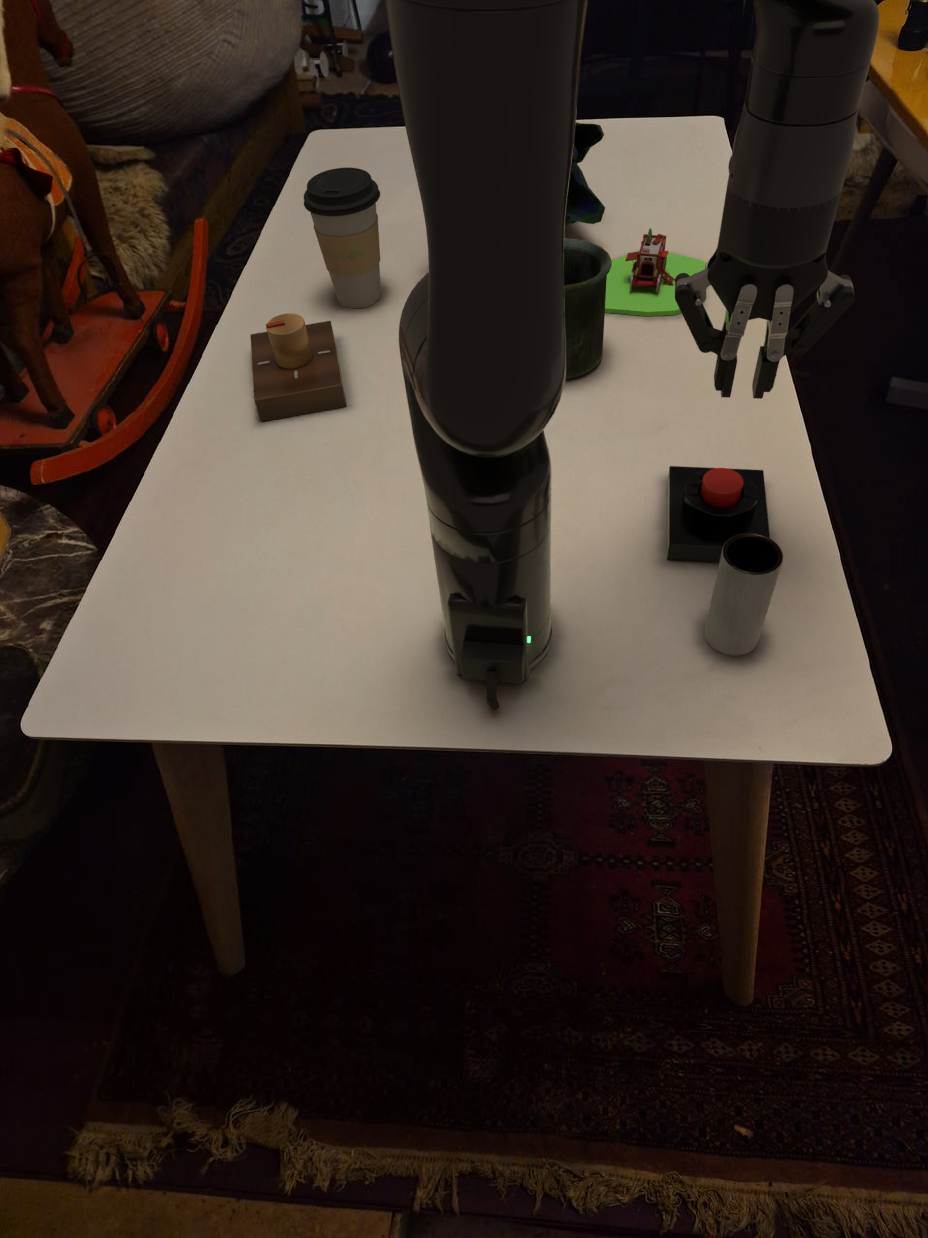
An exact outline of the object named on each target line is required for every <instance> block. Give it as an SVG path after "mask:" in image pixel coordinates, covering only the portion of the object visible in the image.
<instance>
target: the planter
mask: <svg viewBox="0 0 928 1238" xmlns="http://www.w3.org/2000/svg"><path fill="white" fill-rule="evenodd" d="M783 562H784V554H783V550H782V548H781V547H780V546H779V544H778V543H777V542H776V541H774V540H773V539H772V538H771V537H770V538H768V537H766V536H763V535H760V534H755V533H743V534H738V535H735V536H733V537H731V538H730V539H728V540H727V541H726V543H725V544H724V546H723V549H722V553H721V558H720V562H719V563H718V567H717V572H716V576H715V581H714V585H713V590H712V594H711V599H710V603H709V607H708V611H707V616H706V622H705V626H704V638H705V641H706V642H707V644H708V645H709V646H710V647H711V648H712V649H713V650H715V652H717V653H720V654H723V655H726V656H732V657H737V656H744V655H747V654H749V653H751V652H752V651H753V650H754V649H756V647H757V646H758V642H759V641H760V637H761V634H762V630H763V627H764V624H765V621H766V617H767V614H768V611H769V608H770V605H771V601H772V597H773V594H774V591H775V587H776V584H777V582H778V578H779V575H780V571H781V568H782V565H783Z"/></svg>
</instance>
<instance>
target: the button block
mask: <svg viewBox="0 0 928 1238" xmlns="http://www.w3.org/2000/svg"><path fill="white" fill-rule="evenodd" d="M668 468H669V469H668V475H667V476H668V477H667V480H666V481H667V482H666V495H667V496H666V561H671V562H686V563H688V562H689V563H703V564H704V563H705V564H719V562H720V558H721V553H722V549H723V546H724V544H725V543H726V541H727V540H728V539H730V538H731V537H733V536H735V535H738V534H743V533H755V534H760V535H763V536H766V537H768V538H770V539H771V536H770V535H771V534H770V525H769V524H770V523H769V516H768V515H769V513H768V504H767V503H768V502H767V494H766V484H765V473H764V470H763V469H748V468H730V469H731V470H734V471H736V472H737V473H739V474H740V475H741V477H742V479H743V487H742V491H741V495H740V499H739V501H738V502H737V503H736V504H734V505H732V506H729V507H715V506H713V505H711V504H708V503H706V502H705V501H704V500H703V499H702V497H701V487H702V481H703V477H704V475H705V474H706V473H707V472H708V471H709V470H712V469H715V468H716V467H701V466H698V467H697V466H681V465H680V466H678V465H670V466H669V467H668Z"/></svg>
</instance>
